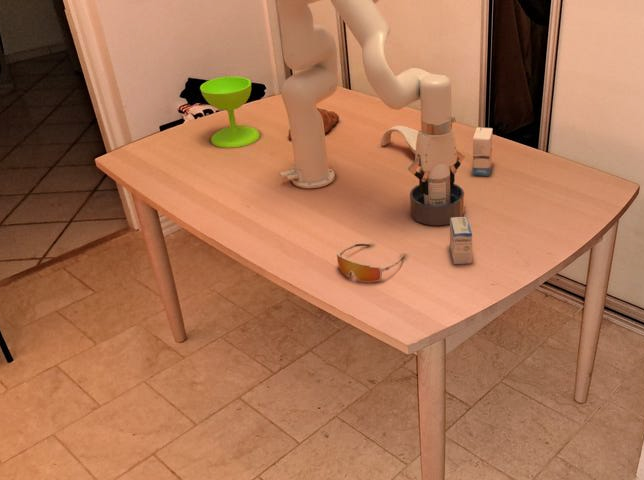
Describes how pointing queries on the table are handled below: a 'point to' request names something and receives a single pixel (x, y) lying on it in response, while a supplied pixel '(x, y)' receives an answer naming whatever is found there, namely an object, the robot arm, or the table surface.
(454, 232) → the medicine box
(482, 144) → the ink box
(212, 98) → the wineglass
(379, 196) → the table surface
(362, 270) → the sunglasses
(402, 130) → the spoon rest
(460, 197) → the bowl
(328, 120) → the pastry
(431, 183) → the bath foam
